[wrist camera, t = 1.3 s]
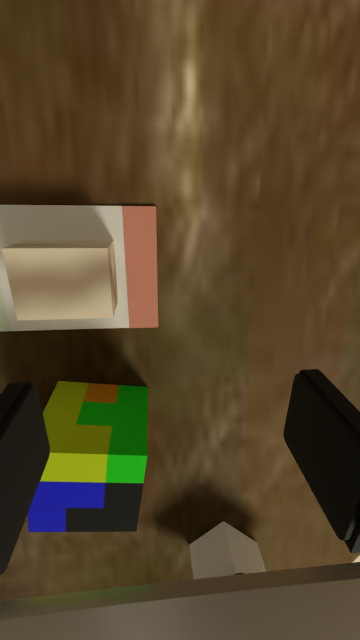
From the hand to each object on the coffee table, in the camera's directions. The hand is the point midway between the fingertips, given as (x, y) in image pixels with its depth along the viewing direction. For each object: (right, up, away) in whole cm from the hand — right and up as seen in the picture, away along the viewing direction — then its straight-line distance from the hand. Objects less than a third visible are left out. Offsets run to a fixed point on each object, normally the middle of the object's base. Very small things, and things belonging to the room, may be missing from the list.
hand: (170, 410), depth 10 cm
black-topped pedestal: (+7, -33, +38) cm, 51 cm away
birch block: (-10, +8, +18) cm, 22 cm away
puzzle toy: (-9, -9, +25) cm, 28 cm away
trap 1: (-3, +8, +19) cm, 21 cm away
